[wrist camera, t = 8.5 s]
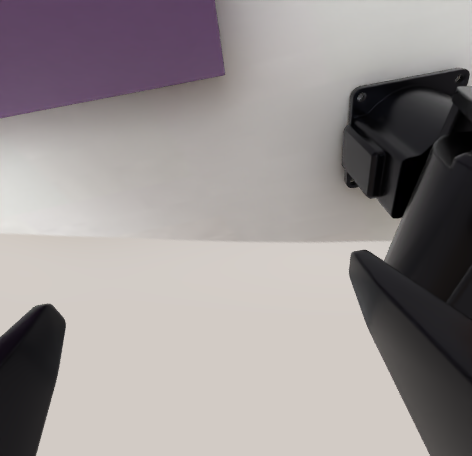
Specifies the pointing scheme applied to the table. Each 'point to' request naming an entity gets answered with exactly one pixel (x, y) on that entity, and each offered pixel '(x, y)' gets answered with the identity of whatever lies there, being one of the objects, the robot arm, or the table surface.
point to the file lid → (102, 49)
